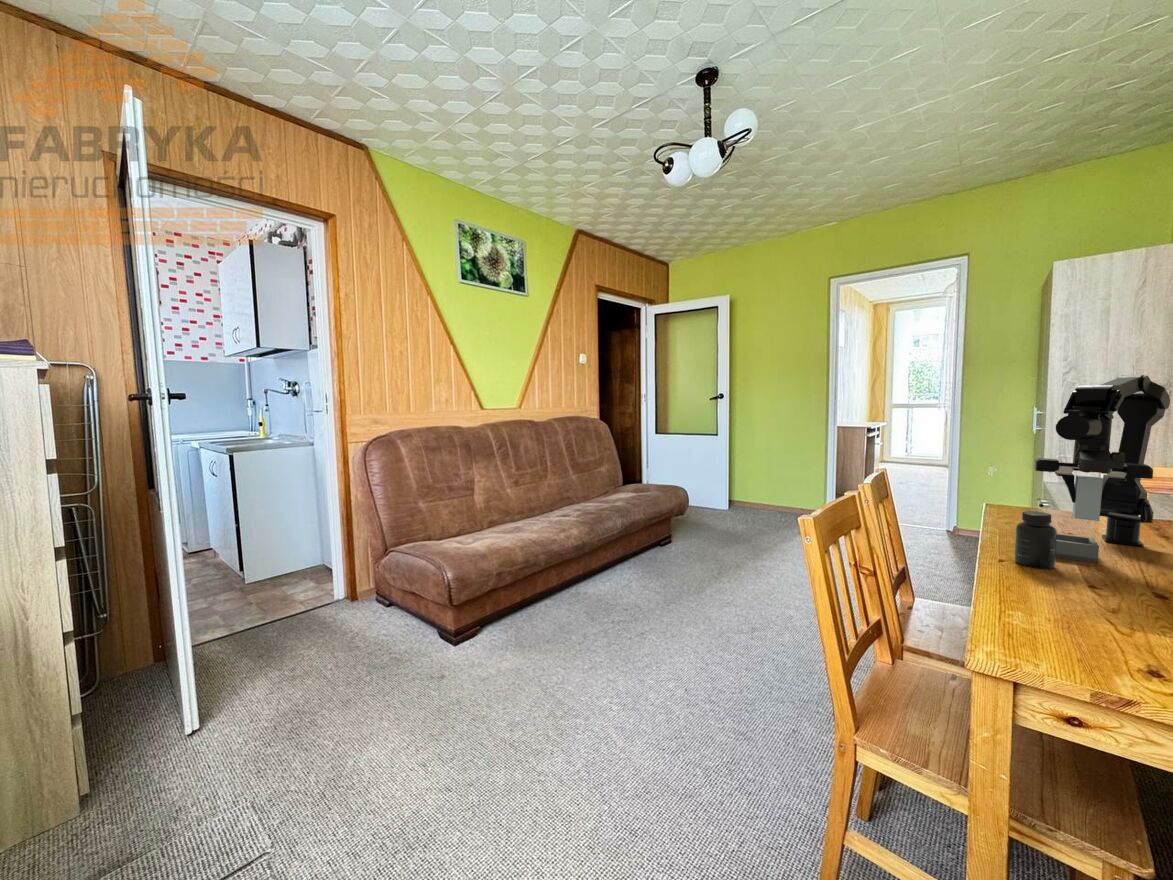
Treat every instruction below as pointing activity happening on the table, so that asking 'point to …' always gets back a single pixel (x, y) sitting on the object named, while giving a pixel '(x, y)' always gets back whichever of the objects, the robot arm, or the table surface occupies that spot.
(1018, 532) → the supplement bottle
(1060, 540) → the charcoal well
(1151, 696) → the table surface
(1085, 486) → the blue-grey block
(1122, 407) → the robot arm
